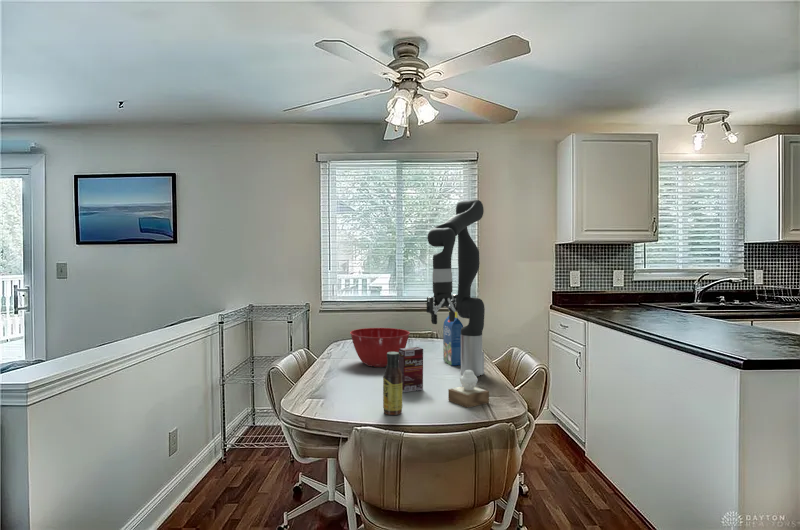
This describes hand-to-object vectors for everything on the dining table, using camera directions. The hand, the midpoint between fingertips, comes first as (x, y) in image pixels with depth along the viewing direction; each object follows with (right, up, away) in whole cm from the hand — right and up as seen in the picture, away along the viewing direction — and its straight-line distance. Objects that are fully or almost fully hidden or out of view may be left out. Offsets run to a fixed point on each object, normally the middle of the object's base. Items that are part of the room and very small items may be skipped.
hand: (443, 322), depth 189 cm
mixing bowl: (-26, -25, +46) cm, 59 cm away
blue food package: (+9, -25, +48) cm, 55 cm away
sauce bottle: (-19, -26, -28) cm, 43 cm away
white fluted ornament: (+8, -22, -15) cm, 28 cm away
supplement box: (-12, -26, 0) cm, 29 cm away
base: (+8, -26, -16) cm, 31 cm away
